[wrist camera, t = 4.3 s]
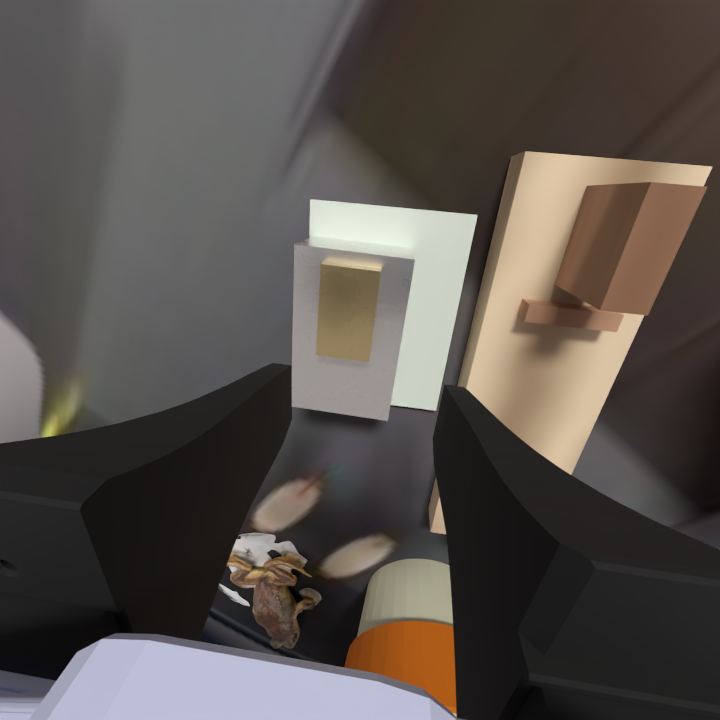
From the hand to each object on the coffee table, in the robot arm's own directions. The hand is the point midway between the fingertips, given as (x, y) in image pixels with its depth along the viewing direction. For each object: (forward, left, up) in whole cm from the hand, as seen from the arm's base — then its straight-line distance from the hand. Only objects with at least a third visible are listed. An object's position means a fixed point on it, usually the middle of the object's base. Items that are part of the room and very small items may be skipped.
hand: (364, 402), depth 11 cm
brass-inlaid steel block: (+1, 0, -9) cm, 9 cm away
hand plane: (-9, +3, -9) cm, 13 cm away
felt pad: (0, 0, -9) cm, 9 cm away
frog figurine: (+7, +25, -10) cm, 28 cm away
